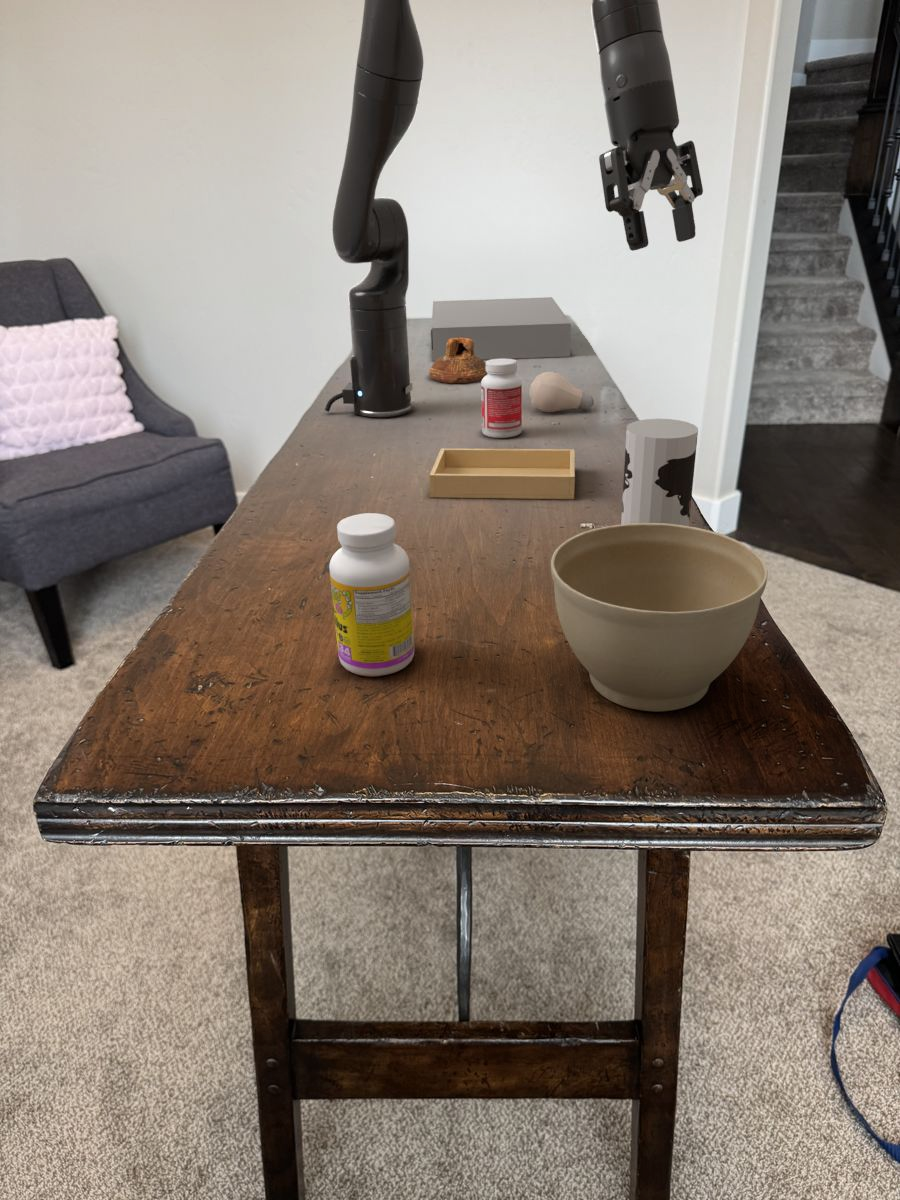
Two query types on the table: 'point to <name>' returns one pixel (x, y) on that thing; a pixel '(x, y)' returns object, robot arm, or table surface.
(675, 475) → the grey patterned cylinder
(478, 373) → the brown domed piece
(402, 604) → the supplement bottle
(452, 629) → the table surface
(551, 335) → the box
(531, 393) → the light bulb
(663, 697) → the planter bowl
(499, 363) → the pill bottle
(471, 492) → the tray
